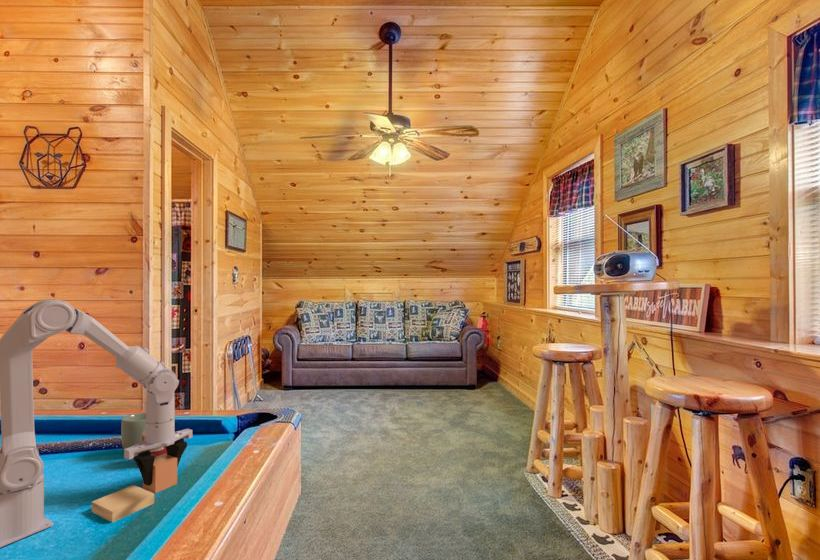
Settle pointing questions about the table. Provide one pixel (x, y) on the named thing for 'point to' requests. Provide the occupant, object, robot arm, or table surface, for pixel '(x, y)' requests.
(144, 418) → the cup
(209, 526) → the table surface
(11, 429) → the robot arm
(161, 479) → the terracotta block
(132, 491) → the maple slab
